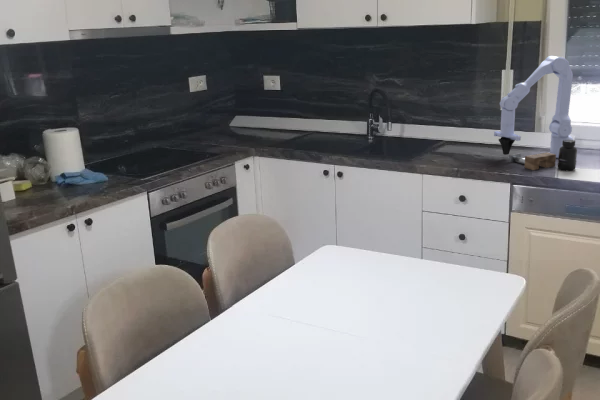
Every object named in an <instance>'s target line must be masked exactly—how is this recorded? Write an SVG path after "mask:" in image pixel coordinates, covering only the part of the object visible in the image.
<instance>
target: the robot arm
mask: <svg viewBox="0 0 600 400" xmlns="http://www.w3.org/2000/svg"><path fill="white" fill-rule="evenodd" d="M549 74H554V75H555V76H556V77H557V78H558V85H557V92H556V93H557V94H556V95H557V96H556V102H555V111H554V112H555V113H554V115H553V116H552V118H551V119H552V120H551V122H550V124H549V127H548V129H549V131H550V132H551V136H550V147H549V149H550V150H549V153H552V154H556V159H558V157H559V149H560V147H562V146H563V145H562V142H563V140H574V138H573V137H572V135H571V134H572V132H573V127H572V124H571V123H572V120H571V118H570V116H569V110H570V105H571V104H570V103H571V94H572V87H573V85H572V84H573V77H574V74H573V70H572V69H571V66H570V61H568V59H566V58H565V57H564V56H555V55H549V56H547V57H546V58H545V59H544V60H543V61H542V62H541V63H540V64H539V65H538V66H537V68H536V69H535V70H534V71H533V72H532V73H531V74H530V76H528V77H527V79H526V80H525V81H524V82H519V83H517V84H515V85H514V86H515V87H514V88H513V89H512V90H511V91H510V92H508V93H507V94H506V96H503V97H502V98H501V99H500V102H499V106H500V108H501V115H500V131H499V130H498V131H497V130H496V131H493V136H494V137H500V138H498V142H499V144H500V146H501V150H502V154H503V155H507V156H508V155H510V151H511V149H512V146H513V144H514V143H515V142H516V141H517V142H519V141H521V138H522V136H521V135H518V134H516V133H515V123H516V122H515V119H516V118H515V117H516V109H518V106H519V103H520V102H521V101H522V100H523V99H524V98H525V97H526V96H527V95H528V94H529V93H530V91H531V87H532V86H534V85H535V84H536V83H537V82H538V81H540V79H542V77H544V76H545V75H549Z"/></svg>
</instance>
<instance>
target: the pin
mask: <svg viewBox="0 0 600 400" xmlns="http://www.w3.org/2000/svg"><path fill="white" fill-rule="evenodd" d="M508 155H509V159H508V163H514V162H515V163H519V164H523V165H525V157H522V153H513V154H508Z"/></svg>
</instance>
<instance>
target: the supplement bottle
mask: <svg viewBox="0 0 600 400" xmlns="http://www.w3.org/2000/svg"><path fill="white" fill-rule="evenodd" d="M562 145H563V146H562V147H560V149H559V157H558V158H557V169H558V170H559V171H563V172H573V171H575V170H576V165H577V156H578V149H577V147H576V140H574V139H573V140H563V142H562Z"/></svg>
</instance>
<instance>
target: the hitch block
mask: <svg viewBox="0 0 600 400" xmlns="http://www.w3.org/2000/svg"><path fill="white" fill-rule="evenodd" d="M524 158H525V164H524V168H525V169H528V170H530V171H531V170H532V171H535V170H536V171H537V170H539V169H540V167H542V168H547V169H548V168H551V167H552V168H553V167H556V159H557V158H556V154H552V153H550V152H542V153H541V152H540V153H537V154H530V155H525V156H524Z"/></svg>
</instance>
